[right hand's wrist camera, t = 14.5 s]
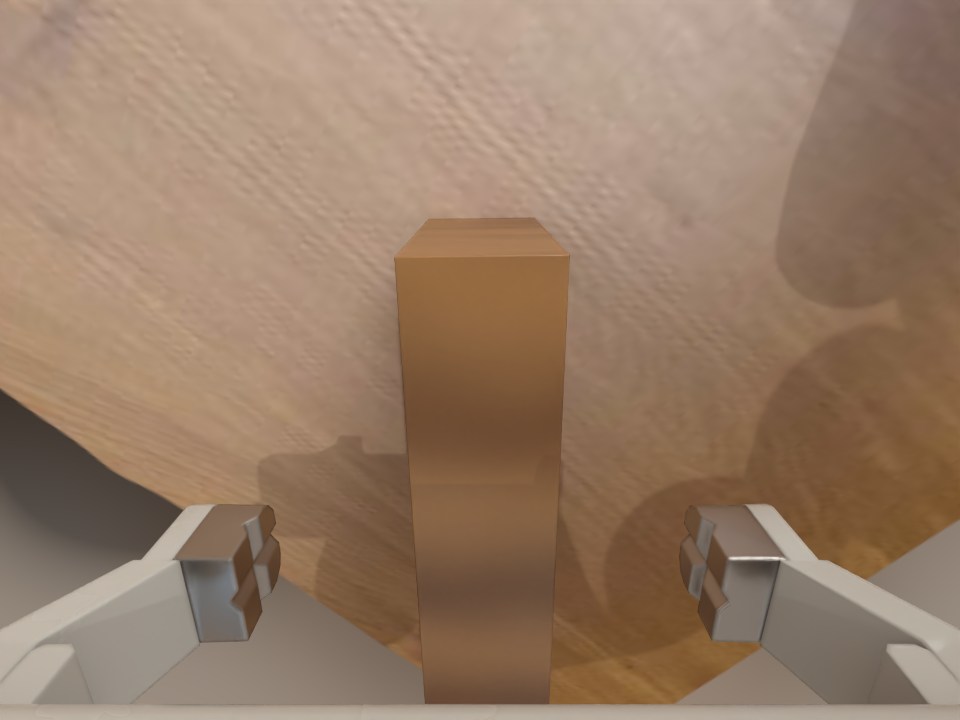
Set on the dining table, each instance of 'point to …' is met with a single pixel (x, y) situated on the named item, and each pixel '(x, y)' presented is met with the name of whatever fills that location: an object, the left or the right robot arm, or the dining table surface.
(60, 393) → the dining table surface
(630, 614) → the dining table surface
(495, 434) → the box
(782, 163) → the dining table surface
